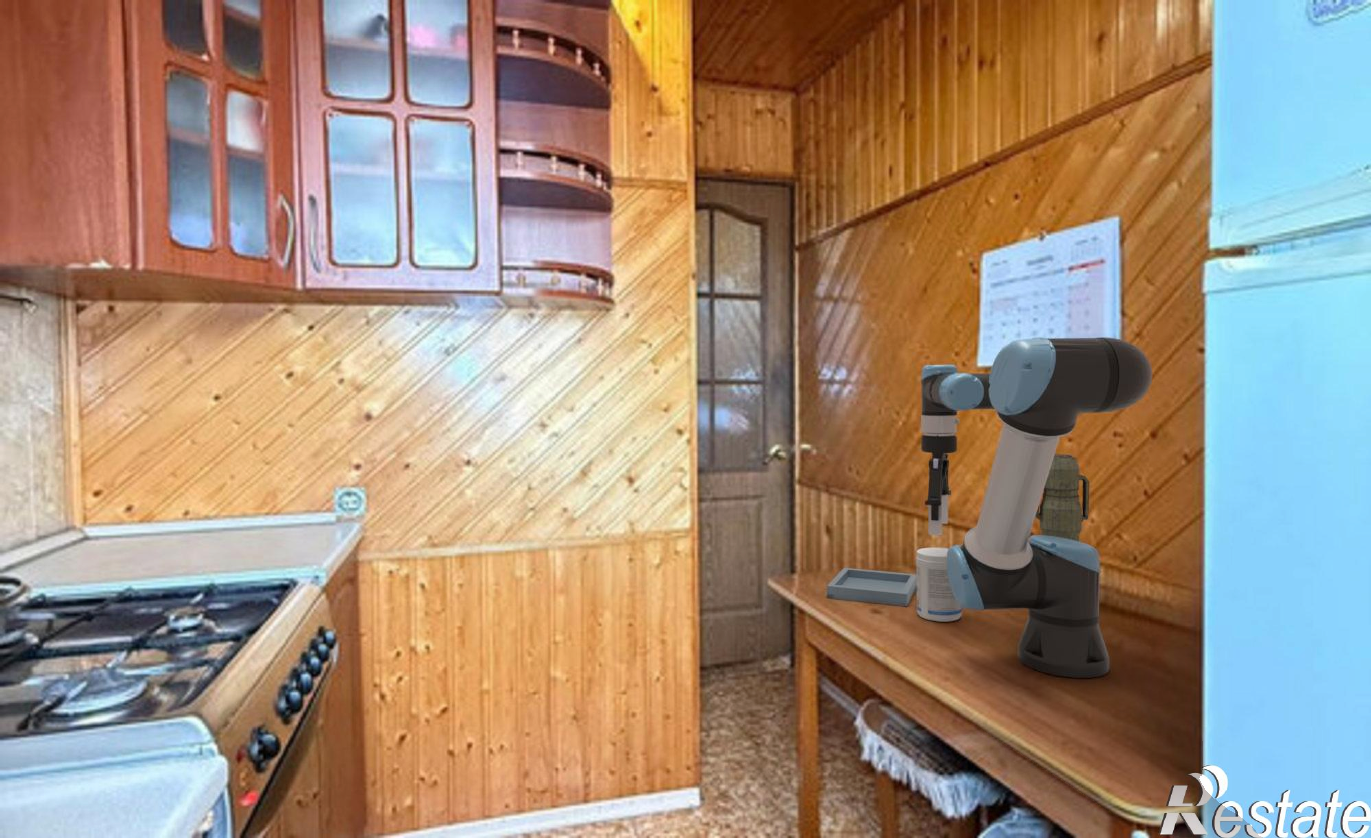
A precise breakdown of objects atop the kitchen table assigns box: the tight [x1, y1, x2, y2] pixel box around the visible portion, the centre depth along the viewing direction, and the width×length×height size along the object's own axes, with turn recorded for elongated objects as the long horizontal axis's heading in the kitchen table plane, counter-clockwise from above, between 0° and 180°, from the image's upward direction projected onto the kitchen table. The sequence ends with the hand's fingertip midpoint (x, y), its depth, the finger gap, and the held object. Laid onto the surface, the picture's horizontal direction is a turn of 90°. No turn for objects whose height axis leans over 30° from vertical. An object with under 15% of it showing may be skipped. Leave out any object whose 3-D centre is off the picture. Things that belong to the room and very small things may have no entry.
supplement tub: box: [915, 547, 963, 623], centre depth 166 cm, size 10×10×15 cm
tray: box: [826, 567, 917, 607], centre depth 186 cm, size 19×19×3 cm
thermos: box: [1035, 454, 1090, 542], centre depth 174 cm, size 9×12×35 cm
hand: (938, 528), depth 165 cm, fingers open, 13 cm apart
